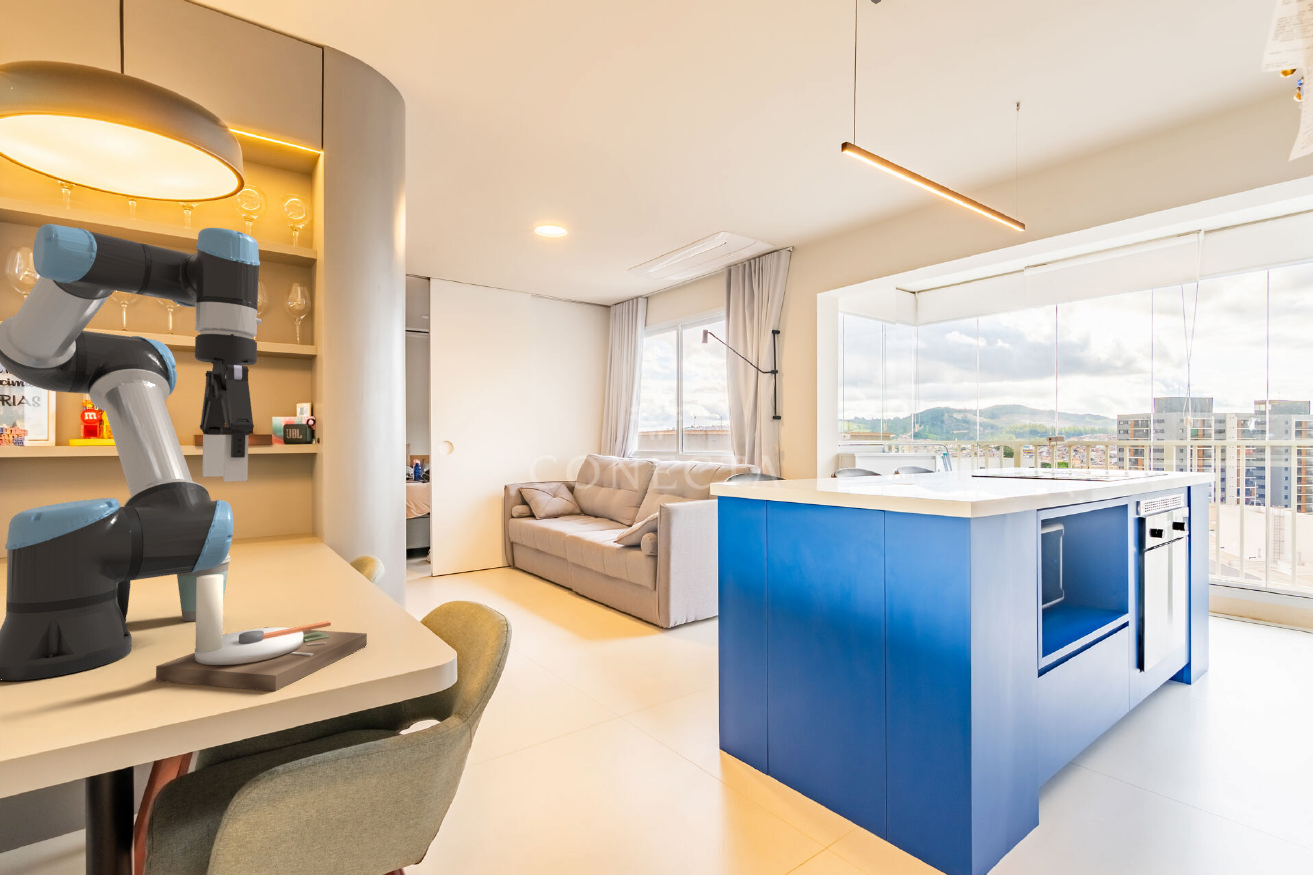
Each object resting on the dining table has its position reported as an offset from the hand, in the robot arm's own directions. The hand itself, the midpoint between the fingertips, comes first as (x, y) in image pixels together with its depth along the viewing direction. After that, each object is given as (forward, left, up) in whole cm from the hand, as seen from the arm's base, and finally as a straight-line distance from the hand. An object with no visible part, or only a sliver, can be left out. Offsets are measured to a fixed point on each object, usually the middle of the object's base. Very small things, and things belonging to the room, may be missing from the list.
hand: (223, 478), depth 90 cm
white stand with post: (+7, +1, -24) cm, 25 cm away
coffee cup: (-24, +19, -27) cm, 41 cm away
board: (+8, 0, -27) cm, 28 cm away
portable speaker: (-36, +10, -27) cm, 46 cm away
